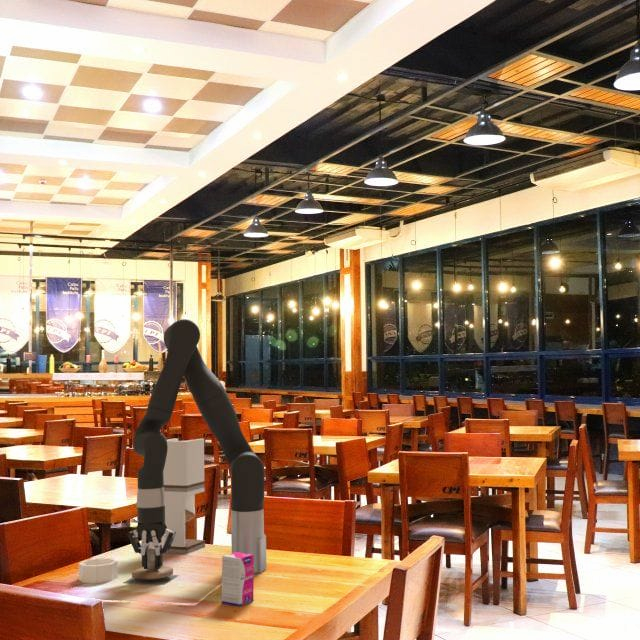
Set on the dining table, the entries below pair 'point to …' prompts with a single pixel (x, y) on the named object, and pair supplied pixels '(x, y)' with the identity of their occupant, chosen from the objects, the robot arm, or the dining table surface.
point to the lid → (152, 568)
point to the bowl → (98, 570)
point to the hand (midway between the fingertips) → (152, 568)
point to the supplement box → (237, 578)
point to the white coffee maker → (183, 490)
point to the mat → (151, 580)
